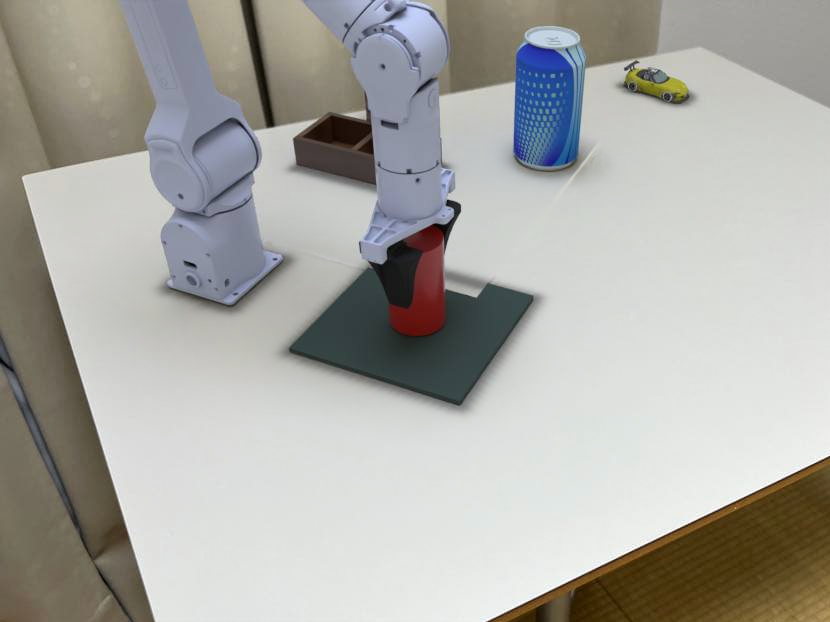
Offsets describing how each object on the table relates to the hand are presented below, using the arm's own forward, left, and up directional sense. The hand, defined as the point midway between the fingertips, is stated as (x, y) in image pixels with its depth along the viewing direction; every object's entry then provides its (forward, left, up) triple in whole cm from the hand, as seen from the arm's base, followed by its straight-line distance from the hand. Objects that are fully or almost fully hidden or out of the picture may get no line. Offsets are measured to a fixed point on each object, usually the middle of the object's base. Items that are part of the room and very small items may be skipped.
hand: (415, 287), depth 86 cm
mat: (0, 0, -4) cm, 4 cm away
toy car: (+66, -6, -5) cm, 67 cm away
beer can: (+38, +1, -5) cm, 38 cm away
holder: (+26, +20, -4) cm, 33 cm away
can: (0, 0, -4) cm, 4 cm away
